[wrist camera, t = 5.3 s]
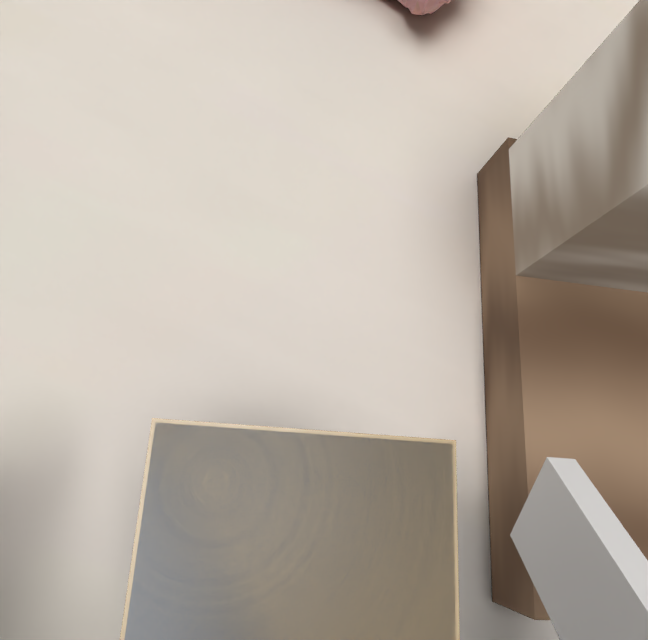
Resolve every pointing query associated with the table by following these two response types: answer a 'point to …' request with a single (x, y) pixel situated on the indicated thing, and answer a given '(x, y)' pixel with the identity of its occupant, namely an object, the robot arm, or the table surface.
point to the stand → (569, 300)
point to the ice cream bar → (423, 5)
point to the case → (293, 536)
